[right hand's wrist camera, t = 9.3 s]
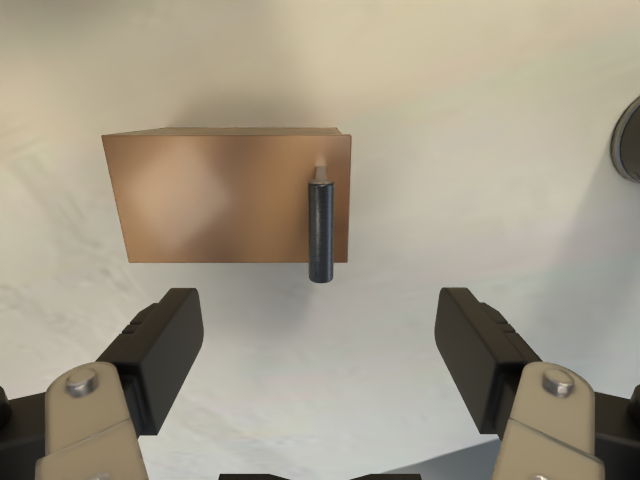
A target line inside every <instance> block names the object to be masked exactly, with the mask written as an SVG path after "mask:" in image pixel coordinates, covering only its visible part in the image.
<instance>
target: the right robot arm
mask: <svg viewBox="0 0 640 480" xmlns="http://www.w3.org/2000/svg"><path fill="white" fill-rule="evenodd" d="M612 157H613V161H614V164H615V166H616V168H617V170H618V171H619V172H620V174H622V175H623V176H624V177H625V178H627V179H628V180H630V181H633V182H636V183H640V97H639V98H638V99H637V100H636V101H635V102H634V103H633V104H632V105H631V106H630V107H629V108H628V109H627V110H626V112H625V113H624V115H623V116H622V118H621V119H620V121H619V123H618V125H617V128H616V130H615V133H614V136H613V141H612ZM203 336H204V329H203V321H202V314H201V307H200V300H199V294H198V291H197V289H196V288H171V289H170V290H169V291H168V292H167V293H166V295H165V296H164V297H163V298H162V299H161V301H160V302H159V303H153V304H152V305H150V306H148V307H147V308H145V309H144V310H142V311H140V312H139V313H138V314H137V315H136V316H135V317H134V319H133V320H132V321H131V322H130V325H127V326H126V328H125V329H124V330H123V331H122V334H119V335H118V336H117V338H116V339H115V340H114V341H113V342H112V343H111V344H110V345H109V347H108V348H107V349H106V350H105V351H104V352H103V353H102V354H101V356H100V357H99V358H98V359H97V360H96V361H95V362H91V363H87V364H84V365H80V366H78V367H75V368H73V369H71V370H69V371H67V372H65V373H64V374H62V375H61V376H59V377H58V378H57V379H56V380H54V381H53V382H52V384H51V385H50V386H49V387H48V389H47V391H46V392H44V393H39V394H35V395H30V396H26V397H21V398H17V399H12V400H8V399H7V396H6V394H5V392H4V389H3V388H2V387H1V386H0V480H149V478H148V475H147V471H146V468H145V464H144V461H143V457H142V454H141V450H140V447H139V443H138V438H139V436H140V435H158V433H159V431H160V429H161V427H162V425H163V423H164V421H165V419H166V417H167V415H168V413H169V411H170V409H171V407H172V405H173V403H174V401H175V399H176V397H177V395H178V393H179V391H180V389H181V387H182V385H183V383H184V381H185V379H186V377H187V375H188V373H189V371H190V369H191V367H192V365H193V363H194V361H195V359H196V357H197V355H198V353H199V351H200V349H201V346H202V343H203ZM435 341H436V345H437V347H438V350H439V352H440V354H441V356H442V358H443V360H444V362H445V364H446V366H447V368H448V370H449V372H450V374H451V376H452V378H453V380H454V382H455V384H456V386H457V388H458V390H459V392H460V394H461V396H462V398H463V400H464V402H465V404H466V406H467V408H468V410H469V412H470V414H471V416H472V418H473V420H474V422H475V424H476V426H477V428H478V430H479V432H480V434H498V436H499V438H500V440H501V442H502V444H501V447H500V450H499V454H498V457H497V461H496V464H495V468H494V471H493V475H492V478H491V480H640V385H637V386H636V387H635V389H634V392H633V394H632V397H631V399H626V398H621V397H617V396H612V395H608V394H603V393H598V392H594V391H593V389H592V387H591V386H590V385H589V384H588V382H587V381H586V380H584V379H583V378H582V377H581V376H579V375H578V374H576V373H575V372H573V371H571V370H569V369H567V368H565V367H562V366H560V365H556V364H553V363H549V362H543V361H542V360H541V359H540V358H539V357H538V355H537V354H536V353H535V352H534V351H533V350H532V349H531V348H530V346H529V345H528V344H527V343H526V342H525V341H524V340H523V339H522V337H521V336H520V335H519V334H518V333H516V332H515V330H514V328H513V327H512V326H511V325H510V324H508V322H507V320H506V319H505V318H504V317H503V316H502V315H501V314H500V313H499V311H497V310H495V309H494V308H492V307H490V306H489V305H487V304H486V303H479V301H478V300H477V299H476V298H475V297H474V295H473V294H472V293H471V292H470V291H469V289H468V288H442V289H441V291H440V294H439V301H438V308H437V315H436V322H435ZM218 480H289V479H286V478H282V477H278V476H275V475H271V474H220V476H219V479H218ZM351 480H422V479H421V476H420V474H369V475H365V476H362V477H358V478H354V479H351Z"/></svg>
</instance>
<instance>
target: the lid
mask: <svg viewBox="0 0 640 480" xmlns="http://www.w3.org/2000/svg"><path fill="white" fill-rule="evenodd" d="M101 137H102V141H103V146H104V150H105V155H106V160H107V164H108V169H109V173H110V178H111V182H112V187H113V192H114V196H115V201H116V205H117V210H118V214H119V219H120V224H121V228H122V233H123V237H124V242H125V246H126V251H127V256H128V260H129V263H309V279H310V280H311V281H313V282H316V283H327V282H329V281H331V280H332V279H333V263H347V262H348V231H349V199H350V168H351V135H350V134H109V135H102V136H101Z"/></svg>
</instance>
